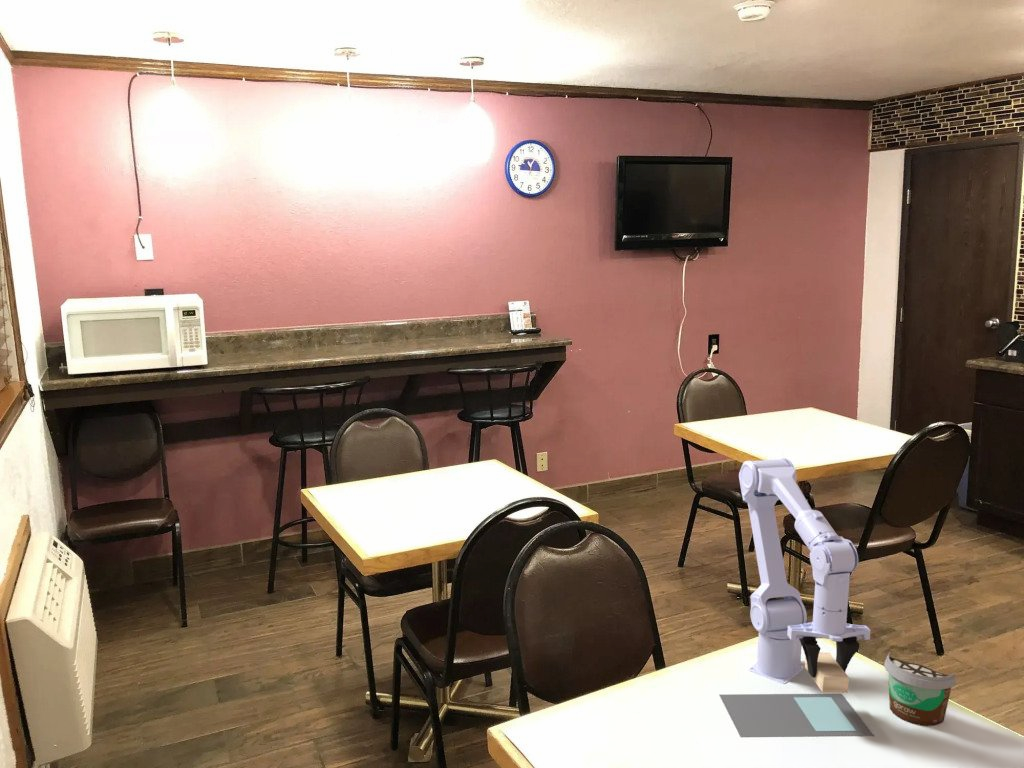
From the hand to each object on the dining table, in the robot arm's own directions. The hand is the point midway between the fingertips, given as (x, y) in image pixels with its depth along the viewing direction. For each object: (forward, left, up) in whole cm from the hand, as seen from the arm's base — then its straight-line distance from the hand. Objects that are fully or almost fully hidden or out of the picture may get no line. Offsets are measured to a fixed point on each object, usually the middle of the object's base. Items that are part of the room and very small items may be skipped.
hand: (825, 674), depth 150 cm
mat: (+4, -4, -8) cm, 10 cm away
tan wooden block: (0, 0, -1) cm, 1 cm away
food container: (-11, +12, -9) cm, 19 cm away
